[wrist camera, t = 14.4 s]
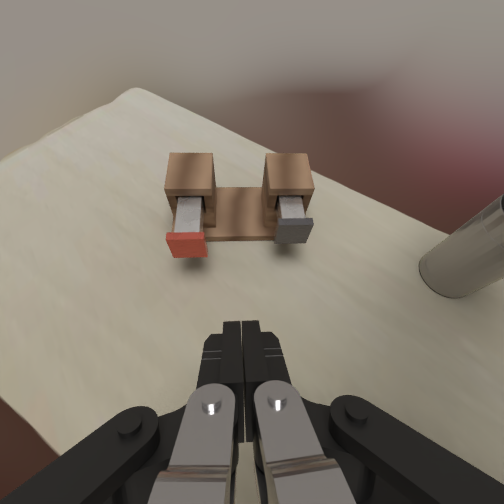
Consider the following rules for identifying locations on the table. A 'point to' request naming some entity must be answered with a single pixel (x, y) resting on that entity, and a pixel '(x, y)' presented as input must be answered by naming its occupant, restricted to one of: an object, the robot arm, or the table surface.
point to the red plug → (188, 229)
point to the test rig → (238, 194)
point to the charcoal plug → (291, 220)
